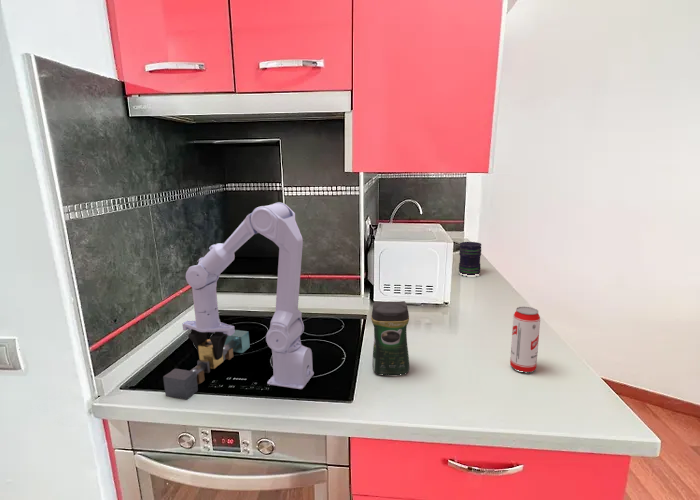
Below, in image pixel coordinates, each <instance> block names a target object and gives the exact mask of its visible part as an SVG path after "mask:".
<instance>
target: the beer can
mask: <svg viewBox="0 0 700 500" xmlns="http://www.w3.org/2000/svg"><path fill="white" fill-rule="evenodd" d="M512 317H513V318H512V332H511V347H510V360H509V364H510V367H511V366H512V367H513V368H514V369H516V370H519V371H523V372H531V373H533V372H535V371H536V369H537V363H538V362H537V361H538V353H539V352H538V351H539V339H540V338H539V337H540V328H541V327H540V326H541V316H540V315H539V310H538V309H536V308H534V307H531V306H518V307H517V308H516V309H515V312H514V313H513V316H512ZM512 367H511V368H512ZM513 368H512V369H513ZM514 369H513V370H514ZM534 370H535V371H534ZM532 371H533V372H532Z"/></svg>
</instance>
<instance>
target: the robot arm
mask: <svg viewBox="0 0 700 500" xmlns="http://www.w3.org/2000/svg"><path fill="white" fill-rule="evenodd" d="M257 234H260V235H262V236H264V237H265V238H267V239H269V240H270V241H272V242H273V243H274V244H275V245H276V246H277V247H278V249H279V250H278V265H277V283H276V296H275V311H274V313H273V315H272V318H271V320H270V325H269V329H268V331H267V332H266V334H265V342H266V343H267V344H266V345H267V346H268V348H269V349H271V353H272V355H271V357H272V366H273V367H272V369H273V370H272V371H273V375H272V376H271V377H270V379H268V380H267V385H269V386H270V385H271V386H277V387H283V388H290V389H298V390H303V389H304V388H305V387H306V385H307V383H309V381H310V379H311V378H312V377H313V376H314V374H315V372H314V369H313V352H312V349H311V348H310V347H307V346H305V345H303V344H302V341H301V336H302V334H303V332H304V331H305V325H304V322H303V319H302V314H303V313H302V311H301V310H299V299H300V298H299V297H300V284H301V274H302V273H301V272H302V270H301V269H302V257H303V256H302V255H303V247H304V239H303V236H302V234H301V230H300V228H299V226H298V223H297V221H296V212H294V211H293V209H291V208H290V207H289V206H288V205H287V204H286V203H285V202H284V203H283V202H280V201H278V202H277V201H276V202H275V203H271V204H269V205H261V206H258V207H255V208H254V209H253V210H252V212H251V213H248V214H247V215H246V217H245V218H244V219H243V221H241V223H240V224H239V225H238V227H237V228H235V230H234V231H233V232H232V233H231V235H230V236H229V237H228V238H227V239H226V240H225V241H224V242H222V243H215V244H214V243H213V244H212V245H210V246H209V248H208V249H209V251H207V253H206V254H205V255H204V256H202V257H200V258H199V259H198V263H197V264H196V265H191V266H189V267H188V269H187V270H186V272H185V281H186V283H187V284H188V285H189V286H190V287H191V290H192V300H193V307H194V316H195V317H194V318H195V320H186V321H184V322H183V323H182V330H183V331H188V330H190V332H189V333H188V335H187V336H188V337H187V338H188V339H190V341H191V342H192V343H193V345H194V347H195V348H196V351H197V353H198V354H199V349H198V346H199V345H200V344H202V343H203V342H205V341H206V340H208V333H214V334H212V335H211V336H210V337H209V339H210V340H211V342H212V345H213V348H214V355H215V359H216V360H219V359H220V358H221V357H222V355H223V349H224V345H225V342H226V339H227V337H228V336H231V335H232V334H234V333H235V330H236V329H235V326H234V325H231V324H227V323H225V322H221V319H220V315H219V307H218V297H217V294H218V293H217V286H218V285H217V282H218V280H219V278H220V275H221V273H223V272H224V271H225V270H226V269H227V267H229V266H230V265H231V264H232V262H234V261H235V257H236V256H235V253H236V252H237V251H238V250H239V249H240V248H241V247H242V246H243V245H244V244H245V243H247V242H248V240H250V239H251V238H252V237H253V236H254V235H257Z"/></svg>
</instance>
